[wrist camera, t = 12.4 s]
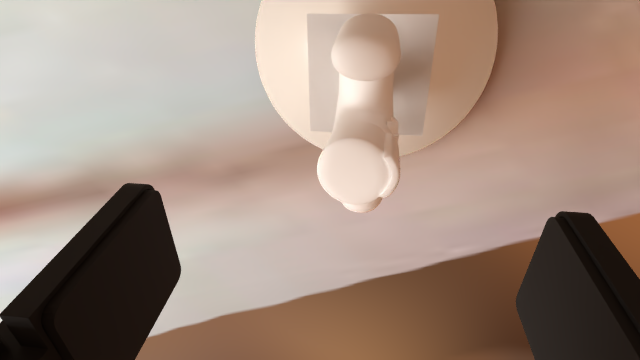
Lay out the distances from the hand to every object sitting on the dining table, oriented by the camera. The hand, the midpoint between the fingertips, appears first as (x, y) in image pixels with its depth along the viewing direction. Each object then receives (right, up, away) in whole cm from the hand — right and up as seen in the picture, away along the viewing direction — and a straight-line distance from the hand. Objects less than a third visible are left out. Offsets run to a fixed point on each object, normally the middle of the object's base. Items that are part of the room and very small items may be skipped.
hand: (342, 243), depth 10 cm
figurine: (+3, +10, +17) cm, 20 cm away
